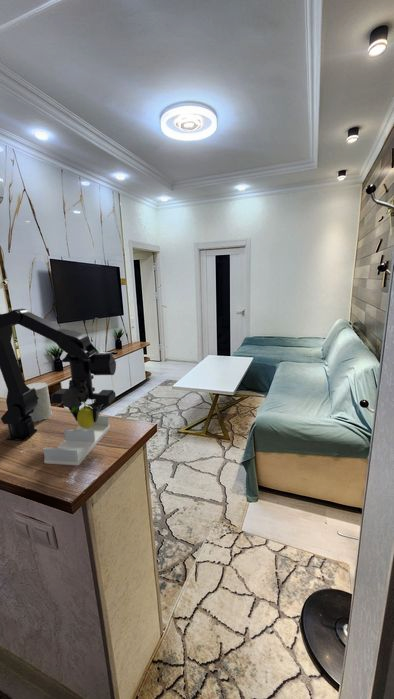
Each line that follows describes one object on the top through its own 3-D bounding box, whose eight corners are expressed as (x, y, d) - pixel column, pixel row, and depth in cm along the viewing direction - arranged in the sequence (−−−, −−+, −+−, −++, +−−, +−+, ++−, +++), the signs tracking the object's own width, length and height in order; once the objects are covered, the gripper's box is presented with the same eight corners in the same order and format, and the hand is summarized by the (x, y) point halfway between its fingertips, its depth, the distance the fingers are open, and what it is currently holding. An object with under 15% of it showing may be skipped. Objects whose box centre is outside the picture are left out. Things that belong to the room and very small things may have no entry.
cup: (41, 422, 104) (36, 391, 101) (22, 421, 105) (16, 390, 102) (56, 412, 111) (52, 383, 109) (38, 411, 113) (33, 382, 110)
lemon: (72, 433, 91) (68, 403, 89) (81, 424, 97) (77, 396, 95) (93, 433, 91) (90, 403, 88) (101, 424, 96) (97, 396, 94)
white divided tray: (44, 463, 80) (42, 448, 79) (82, 426, 100) (81, 414, 99) (78, 465, 79) (76, 450, 78) (110, 427, 99) (109, 415, 98)
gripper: (35, 383, 83) (43, 432, 87) (98, 385, 81) (103, 435, 84) (58, 371, 94) (65, 415, 97) (114, 372, 91) (118, 418, 95)
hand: (86, 421), depth 93 cm, fingers closed on lemon, 5 cm apart
